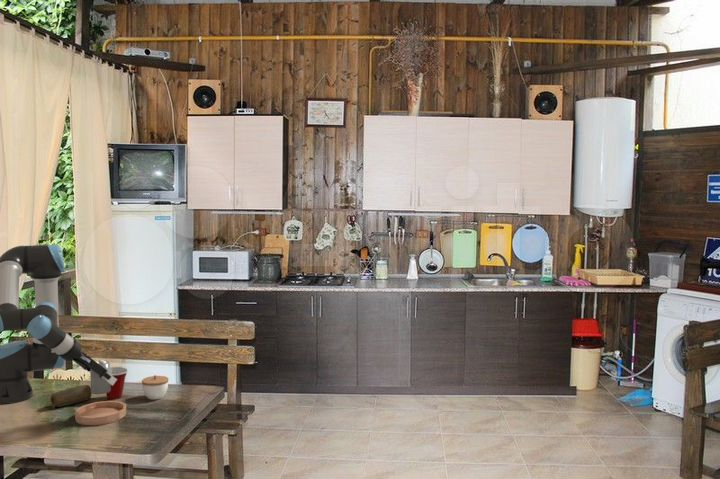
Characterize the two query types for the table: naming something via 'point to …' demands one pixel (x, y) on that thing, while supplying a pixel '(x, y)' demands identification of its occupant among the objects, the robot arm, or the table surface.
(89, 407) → the terracotta bowl
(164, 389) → the lidded jar
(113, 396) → the plastic cup
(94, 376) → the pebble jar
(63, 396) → the stone weight
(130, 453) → the table surface
